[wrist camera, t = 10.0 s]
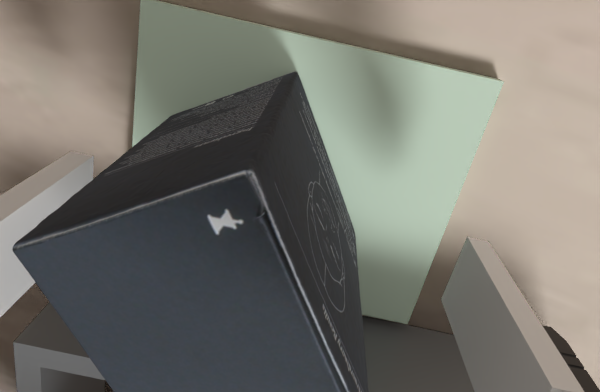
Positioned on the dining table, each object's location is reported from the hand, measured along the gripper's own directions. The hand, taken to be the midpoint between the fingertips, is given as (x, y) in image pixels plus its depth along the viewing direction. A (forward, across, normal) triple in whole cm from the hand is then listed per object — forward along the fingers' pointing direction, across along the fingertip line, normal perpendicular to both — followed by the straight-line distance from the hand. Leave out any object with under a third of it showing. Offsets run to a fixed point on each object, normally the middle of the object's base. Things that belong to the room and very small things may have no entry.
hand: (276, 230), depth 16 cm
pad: (+5, 0, 0) cm, 5 cm away
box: (+4, -1, 0) cm, 4 cm away
